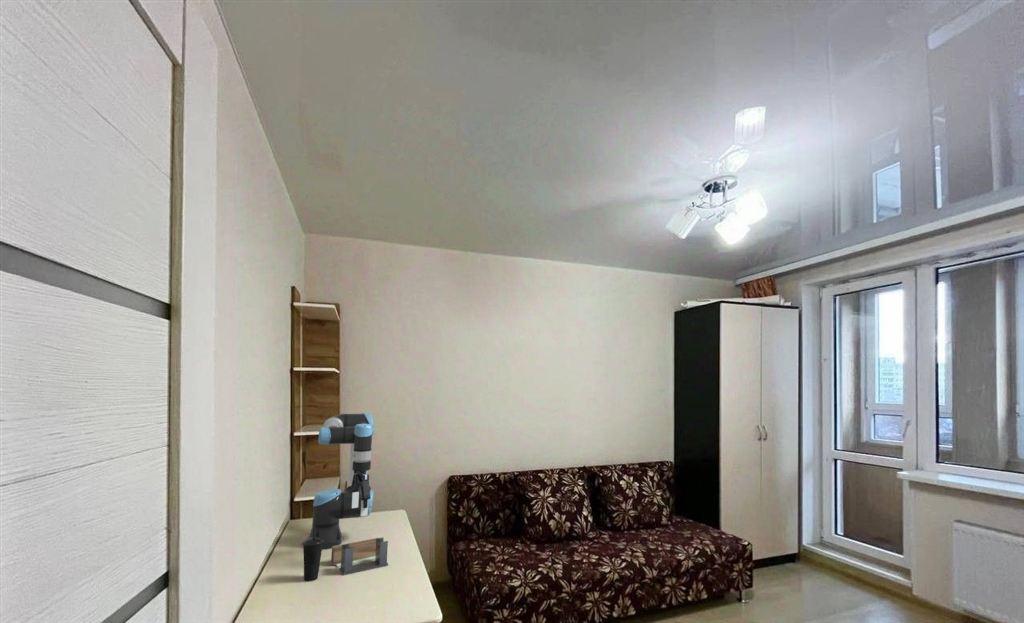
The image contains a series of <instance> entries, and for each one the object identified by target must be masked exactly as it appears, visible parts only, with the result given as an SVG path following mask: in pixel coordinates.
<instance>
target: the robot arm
mask: <svg viewBox="0 0 1024 623" xmlns="http://www.w3.org/2000/svg"><path fill="white" fill-rule="evenodd" d="M374 430H375V428H374V419H373V416H372V415H371V414H370V413H363V412H362V413H340V414H335V415H333V416H330V417H328V418H327V419H326V420H325V421H324V423H323V426H322V427H320V428H319V430H318V444H319V445H322V446H323V445H326V446H328V445H329V446H330V445H350V449H349V475H348V476H349V478H348V486H347V487H345V491H342V490H341V489H340V488H331V489H326V490H323V491H320V492H317V494H315V495H314V498H313V504H312V507H313V511H312V525H311V529H310V532H309V535H308V538H311V537H313V524H315V537H319V538H322V539H324V542H323V546H322V550H327V549H332V546H336V545H342V543H343V535H342V532H341V528H340V520H344V519H354V518H355V519H357V518H363V517H369V516H370V515H371V513H372V507H373V499H374V492H375V490H374V489H371V485H370V474H368V471H370V470H371V465H372V461H371V460H372V451H373V450H372V444H373V442H372V441H373V436H374V432H375V431H374ZM308 538H307V539H308Z"/></svg>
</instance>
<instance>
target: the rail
mask: <svg viewBox="0 0 1024 623" xmlns="http://www.w3.org/2000/svg"><path fill="white" fill-rule="evenodd" d="M377 538H378V537H375V538H369V539H364V540H359V541H354V542H353V541H352V542H350V543H349V542H348V543H346V544H350V548H353V561H355V560H360V559H364V558H369V557H374V556H376V539H377ZM344 544H345V543H343V544H342V543H341V544H340V545H336V546H332V548H331V557H330V559H331V560H330V561H331V564H332V565H335V564H340V563H341V554H342V545H344ZM335 566H336V565H335Z"/></svg>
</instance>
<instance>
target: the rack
mask: <svg viewBox="0 0 1024 623" xmlns="http://www.w3.org/2000/svg"><path fill="white" fill-rule="evenodd" d="M376 538H377V539H376V556H375V560H373V561H369V562H364V563H359V564H354V565H353V548H350V544H347V543H343V544H344V545H342V544H341V545H342V554H341V567H340V568H338V571H339V572H340V573H341V575H342V576H347V575H353V574H356V573H360V572H365V571H369V570H374V569H378V568H383V567H388V566H389V563H388V547H389V546H388V545H389V541H388V540H385V541H384V536H382V537H376Z"/></svg>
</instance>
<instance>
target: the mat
mask: <svg viewBox="0 0 1024 623" xmlns="http://www.w3.org/2000/svg"><path fill="white" fill-rule="evenodd" d="M370 561H375V556H374V557H369V558H364V559H360V560H355V561H353V565H356V564H361V563H366V562H370ZM335 567H336V568H337V569H339V568H341V563H340V564H335Z"/></svg>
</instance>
